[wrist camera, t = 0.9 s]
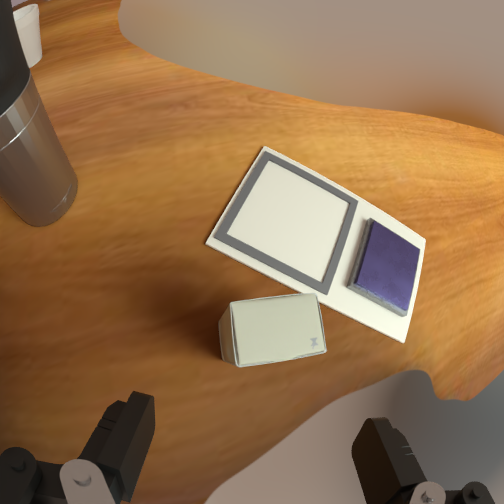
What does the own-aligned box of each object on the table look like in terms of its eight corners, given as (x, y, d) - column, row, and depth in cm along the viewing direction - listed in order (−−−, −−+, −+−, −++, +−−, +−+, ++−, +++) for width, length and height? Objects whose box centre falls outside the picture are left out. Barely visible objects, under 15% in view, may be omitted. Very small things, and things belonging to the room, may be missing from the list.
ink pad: (346, 287, 33) (352, 284, 32) (366, 220, 37) (372, 215, 36) (401, 317, 34) (409, 315, 32) (416, 251, 37) (422, 248, 36)
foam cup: (5, 80, 35) (-13, 35, 23) (18, 57, 38) (5, 15, 26) (42, 67, 38) (28, 16, 26) (53, 45, 40) (43, -1, 28)
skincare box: (275, 314, 31) (322, 289, 20) (280, 354, 30) (332, 352, 19) (214, 320, 30) (228, 299, 18) (219, 362, 28) (236, 368, 17)
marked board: (205, 244, 32) (205, 242, 32) (263, 147, 38) (265, 144, 38) (402, 343, 33) (405, 342, 32) (424, 240, 39) (426, 238, 38)
